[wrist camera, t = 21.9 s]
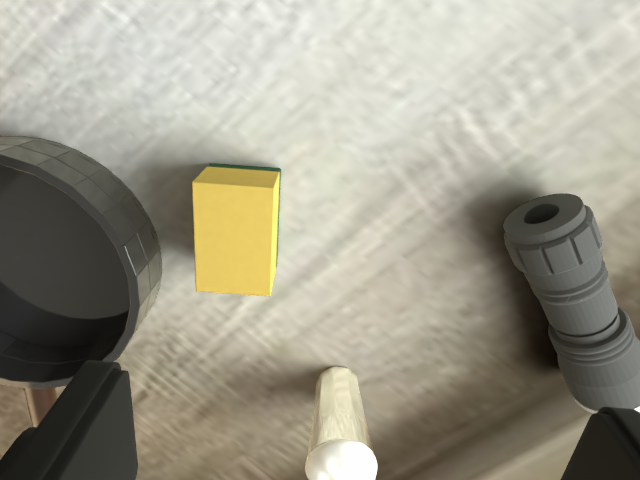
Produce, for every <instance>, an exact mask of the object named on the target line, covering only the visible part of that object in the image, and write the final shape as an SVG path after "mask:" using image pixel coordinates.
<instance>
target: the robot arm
mask: <svg viewBox="0 0 640 480" xmlns="http://www.w3.org/2000/svg"><path fill="white" fill-rule="evenodd" d="M137 468H138V461H137V451H136V441H135V430H134V420H133V410H132V399H131V389H130V379H129V373H128V371H121V367H120V364H119V363H117V362H107V361H96V360H88V361H86V362H85V363H84V364H83V365H82V366H81V367H80V369H79V370H78V372H77V373H76V374H75V376H74V377H73V378H72V380H71V381H70V382H69V384H68V385H67V387H66V388H65V389H64V391H63V392H62V393H61V395H60V396H59V398H58V399H57V400H56V402H55V403H54V404H53V406H52V407H51V408H50V410H49V411H48V413H47V414H46V415H45V417H44V418H43V419H42V421H41V422H40V424H39V425H38V426H37V427H30V428H28V429H27V430H25V431H23V432H22V433H21V435H20V436H19V437H18V438H17V439H16V440H15V441H14V443H13V444H12V445H11V447H10V448H9V449H8V451H7V452H6V453H5V455H4V456H3V457H2V459H1V460H0V480H135V479H136V475H137ZM561 480H640V413H639V412H638V411H636V410H634V409H627V408H615V407H602V408H600V409H599V411H598V412H597V413H594V414H593V415H591V417H590V419H589V421H588V423H587V425H586V427H585V429H584V431H583V433H582V436H581V438H580V440H579V442H578V444H577V446H576V448H575V450H574V453H573V455H572V457H571V459H570V461H569V463H568V465H567V467H566V470H565V472H564V474H563V476H562V478H561Z"/></svg>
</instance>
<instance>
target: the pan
mask: <svg viewBox="0 0 640 480" xmlns="http://www.w3.org/2000/svg"><path fill="white" fill-rule="evenodd" d="M161 276H162V259H161V252H160V246H159V242H158V239H157V235H156V232H155V230H154V228H153V225H152V223H151V221H150V218H149V217H148V215H147V213H146V212H145V210H144V208H143V207H142V205H141V204H140V202H139V201H138V200H137V198H136V197H135V196H134V194H133V193H132V192H131V191H130V190H129V189H128V188H127V186H126V185H125V184H124V183H123V182H122V181H121V180H120V179H119V178H118V177H116V176H115V175H114V174H113V173H112V172H110V171H109V170H108V169H107V168H105V167H104V166H102V165H101V164H100V163H98V162H97V161H95V160H94V159H92V158H90V157H88V156H86V155H85V154H83V153H81V152H79V151H77V150H75V149H72V148H70V147H67V146H64V145H62V144H59V143H56V142H52V141H48V140H44V139H40V138H32V137H25V136H6V137H0V384H2V385H6V386H10V387H18V388H34V389H47V388H54V387H60V386H66V385H68V384H69V382H70V381H71V380H72V378H73V377H74V376H75V374H76V373H77V372H78V370H79V369H80V367H81V366H82V365H83V364H84V363H85V362H86V361H88V360H96V361H107V362H114V361H115V360H116V359H117V358H119V357H120V356H121V354H122V353H123V351H124V350H125V348H126V347H127V345H128V343H129V342H130V340H131V339H132V337H133V336H134V334H135V333H136V331H137V330H138V328H139V327H140V325H141V324H142V322H143V320H144V319H145V317H146V316H147V314H148V312H149V311H150V309H151V307H152V306H153V304H154V302H155V299H156V297H157V294H158V291H159V288H160V282H161Z"/></svg>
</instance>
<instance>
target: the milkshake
mask: <svg viewBox="0 0 640 480" xmlns="http://www.w3.org/2000/svg"><path fill="white" fill-rule="evenodd" d="M305 472H306V475H307V478H308V479H309V480H375V478H376V473H377V461H376V457H375V453H374V449H373V445H372V441H371V437H370V433H369V430H368V426H367V423H366V419H365V415H364V410H363V406H362V401H361V396H360V391H359V386H358V382H357V377H356V375H355V374H354V373H353V372H351V371H350V370H349V369H347V368H343V367H332V368H330V369H327V370H325V371H323V372H322V373H321V375H320V377H319V379H318V381H317V385H316V393H315V401H314V409H313V417H312V426H311V434H310V440H309V447H308V453H307V459H306V464H305Z"/></svg>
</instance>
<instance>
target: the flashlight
mask: <svg viewBox="0 0 640 480" xmlns="http://www.w3.org/2000/svg"><path fill="white" fill-rule="evenodd" d="M503 227H504V230H505V233H504V240H505V242H504V243H505V245H506V248H507V250H508V252H509V254H510V256H511V259H512V261H513V263H514V265H515V266H516V267H517V268H518V269H519V270H520V271H522V272H523V273H524V275H525V277H526V279H527V280H528V281H529V285H530V286H531V288H532V291H533V293H534V295H535V296H536V297H537V298H538V299H539V301H540V303H541V305H542V307H543V310H544V312H545V314H546V316H547V319H548V321H549V323H550V324H549V328H548V334H549V338H550V340H551V342H552V344H553V346H554V349H555V351H556V352H557V356H558V364H559V368H560V370H561V372H562V374H563V377H564V379H565V381H566V383H567V385H568V387H569V390H570V392H571V394H572V396H573V398H574V400H575V401H576V402H577V404H579V405H580V406H581V407H582V408H583V409H585V410H586V411H589V412H591V413H593V414H594V413H597V412H598V411H599V409H600V408H602V407H615V408H627V409H634V410H636V411H638V412H640V341H639V340H638V339H637V338H636V336H635V332H634V329H633V327H632V324H631V322H630V318H629V316H628V315H627V313H626V312H625V311H624V310H622V309H621V308H620V307H618V306H617V303H616V300H615V298H614V295H613V292H612V290H611V287H610V284H609V282H608V271H607V269H606V267H605V263H604V261H603V257H602V253H601V250H600V247H601V245H602V237H601V234H600V231H599V228H598V226H597V223H596V220H595V217H594V215H593V212H592V211H591V209H590V207H588V206H586V205H584V204H583V202H582V200H581V199H580V198H579V197H578V196H576V195H572V194H553V195H548V196H543V197H540V198H537V199H534V200H532V201H529V202H527V203H525V204H523V205H521V206H520V207H518V208H516V209H515V210H514V211H513V212H511V213H510V214H509V215H508V216H507V218H506V219H505V221H504V224H503Z"/></svg>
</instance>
